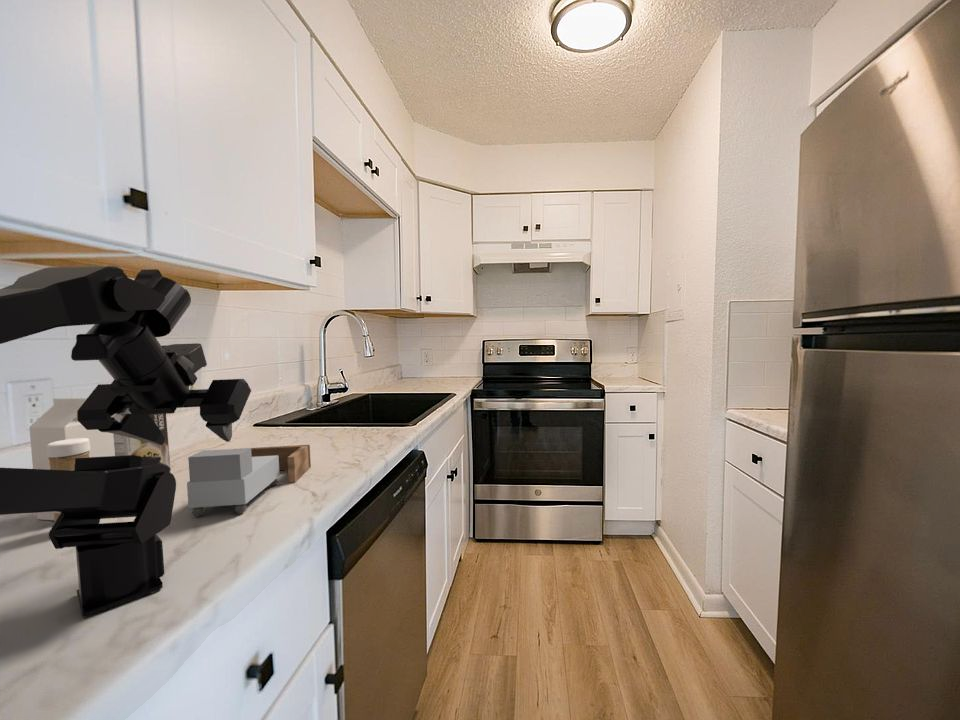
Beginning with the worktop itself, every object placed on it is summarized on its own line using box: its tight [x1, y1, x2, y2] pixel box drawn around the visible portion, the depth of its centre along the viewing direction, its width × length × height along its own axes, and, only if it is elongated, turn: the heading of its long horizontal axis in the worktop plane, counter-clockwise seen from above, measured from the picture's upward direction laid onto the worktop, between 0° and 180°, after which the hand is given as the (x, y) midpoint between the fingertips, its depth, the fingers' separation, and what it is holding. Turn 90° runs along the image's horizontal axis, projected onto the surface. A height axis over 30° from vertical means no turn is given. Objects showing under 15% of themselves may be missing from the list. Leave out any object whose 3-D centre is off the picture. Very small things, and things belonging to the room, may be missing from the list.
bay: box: [250, 444, 312, 484], centre depth 84 cm, size 10×14×5 cm
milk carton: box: [29, 397, 115, 521], centre depth 69 cm, size 7×7×19 cm
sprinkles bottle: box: [47, 438, 90, 523], centre depth 62 cm, size 5×5×14 cm
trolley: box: [186, 447, 281, 518], centre depth 72 cm, size 15×8×10 cm, turn 6°
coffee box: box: [113, 414, 172, 474], centre depth 82 cm, size 9×6×16 cm
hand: (196, 440), depth 60 cm, fingers open, 9 cm apart
